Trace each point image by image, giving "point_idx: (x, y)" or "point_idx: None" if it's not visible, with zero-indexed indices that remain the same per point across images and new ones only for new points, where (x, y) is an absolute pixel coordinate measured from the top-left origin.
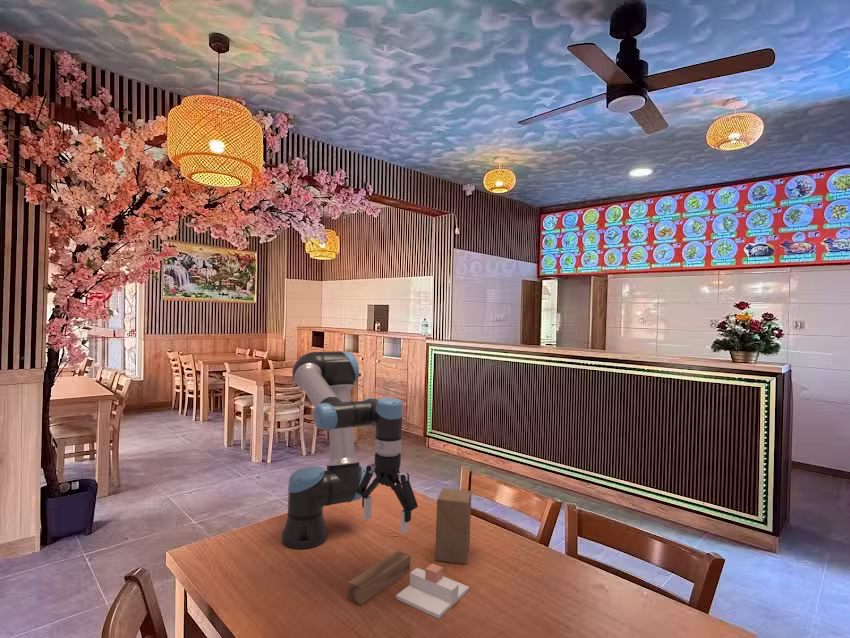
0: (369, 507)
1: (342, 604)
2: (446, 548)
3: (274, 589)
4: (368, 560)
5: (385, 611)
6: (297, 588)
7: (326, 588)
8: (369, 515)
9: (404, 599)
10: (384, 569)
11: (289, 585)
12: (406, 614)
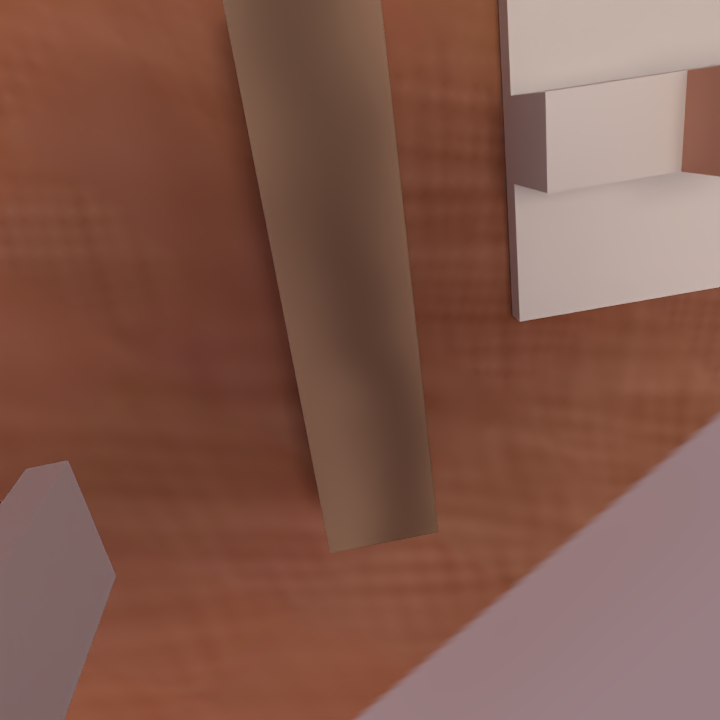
0: (10, 658)
1: None
2: None
3: None
4: (27, 143)
5: (538, 419)
6: None
7: (168, 524)
8: (64, 532)
9: (577, 310)
10: (384, 309)
11: None
12: (634, 361)
